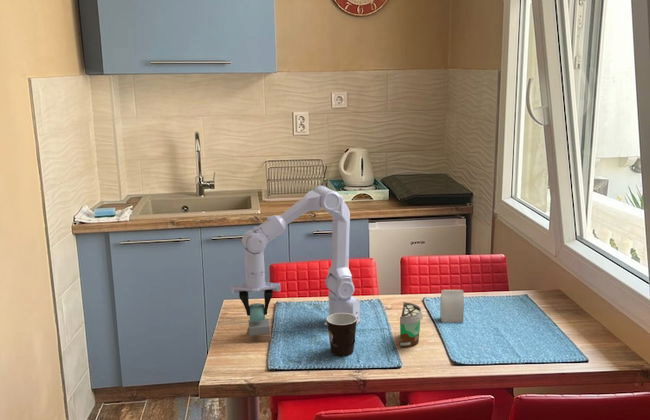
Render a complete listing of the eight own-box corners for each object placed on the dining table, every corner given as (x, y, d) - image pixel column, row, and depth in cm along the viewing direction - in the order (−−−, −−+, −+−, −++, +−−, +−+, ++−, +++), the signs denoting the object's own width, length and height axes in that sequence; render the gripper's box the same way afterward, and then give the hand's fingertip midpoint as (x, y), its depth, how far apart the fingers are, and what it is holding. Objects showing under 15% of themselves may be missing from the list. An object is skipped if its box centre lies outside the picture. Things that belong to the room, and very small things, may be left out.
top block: (268, 326, 198) (268, 318, 198) (269, 334, 192) (269, 326, 192) (248, 327, 197) (248, 320, 197) (249, 335, 192) (249, 328, 191)
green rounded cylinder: (267, 316, 195) (267, 304, 194) (260, 322, 191) (259, 309, 190) (254, 314, 197) (254, 302, 196) (246, 320, 193) (246, 307, 192)
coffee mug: (327, 344, 189) (326, 312, 187) (357, 344, 189) (356, 312, 187) (326, 363, 178) (325, 329, 176) (357, 363, 178) (357, 329, 175)
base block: (271, 333, 199) (270, 325, 198) (270, 343, 192) (270, 335, 192) (248, 334, 199) (247, 326, 198) (246, 344, 192) (246, 336, 191)
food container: (421, 351, 184) (421, 318, 181) (399, 350, 185) (399, 317, 183) (423, 333, 195) (424, 302, 193) (403, 332, 197) (403, 301, 194)
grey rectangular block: (463, 322, 203) (464, 292, 201) (441, 322, 203) (442, 292, 201) (461, 317, 207) (462, 288, 204) (440, 317, 207) (440, 288, 205)
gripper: (229, 276, 186) (231, 320, 189) (279, 274, 187) (281, 318, 190) (231, 268, 193) (233, 311, 196) (279, 266, 194) (281, 309, 197)
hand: (257, 314), depth 194 cm, fingers closed on green rounded cylinder, 5 cm apart
